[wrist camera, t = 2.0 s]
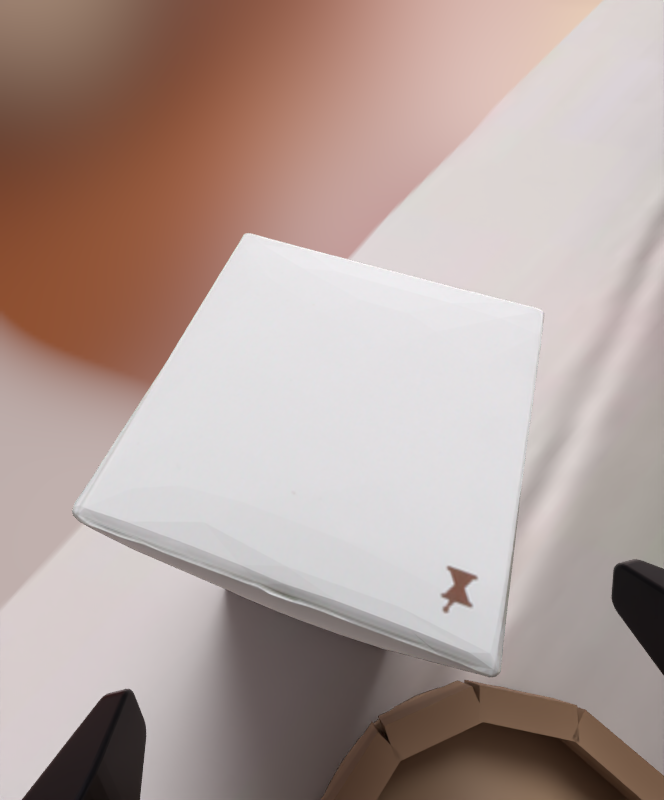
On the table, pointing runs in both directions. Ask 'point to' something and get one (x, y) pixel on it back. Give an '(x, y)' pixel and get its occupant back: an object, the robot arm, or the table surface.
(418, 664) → the table surface
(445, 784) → the brown faceted round ring
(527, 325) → the supplement box
